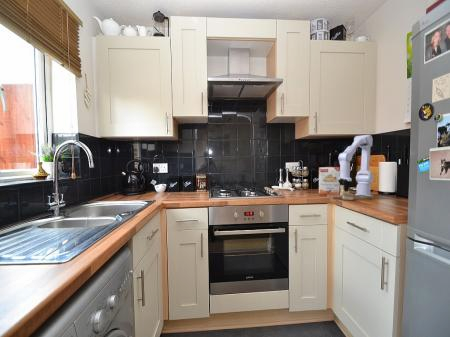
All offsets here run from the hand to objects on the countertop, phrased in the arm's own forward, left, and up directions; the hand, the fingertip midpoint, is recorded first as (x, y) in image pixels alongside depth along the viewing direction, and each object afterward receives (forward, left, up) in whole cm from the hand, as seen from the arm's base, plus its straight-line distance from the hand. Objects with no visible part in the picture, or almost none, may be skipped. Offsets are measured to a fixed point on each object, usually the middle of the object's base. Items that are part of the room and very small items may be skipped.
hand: (344, 190), depth 147 cm
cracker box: (-22, -2, -6) cm, 23 cm away
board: (-3, +4, -5) cm, 7 cm away
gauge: (0, 0, -5) cm, 5 cm away
